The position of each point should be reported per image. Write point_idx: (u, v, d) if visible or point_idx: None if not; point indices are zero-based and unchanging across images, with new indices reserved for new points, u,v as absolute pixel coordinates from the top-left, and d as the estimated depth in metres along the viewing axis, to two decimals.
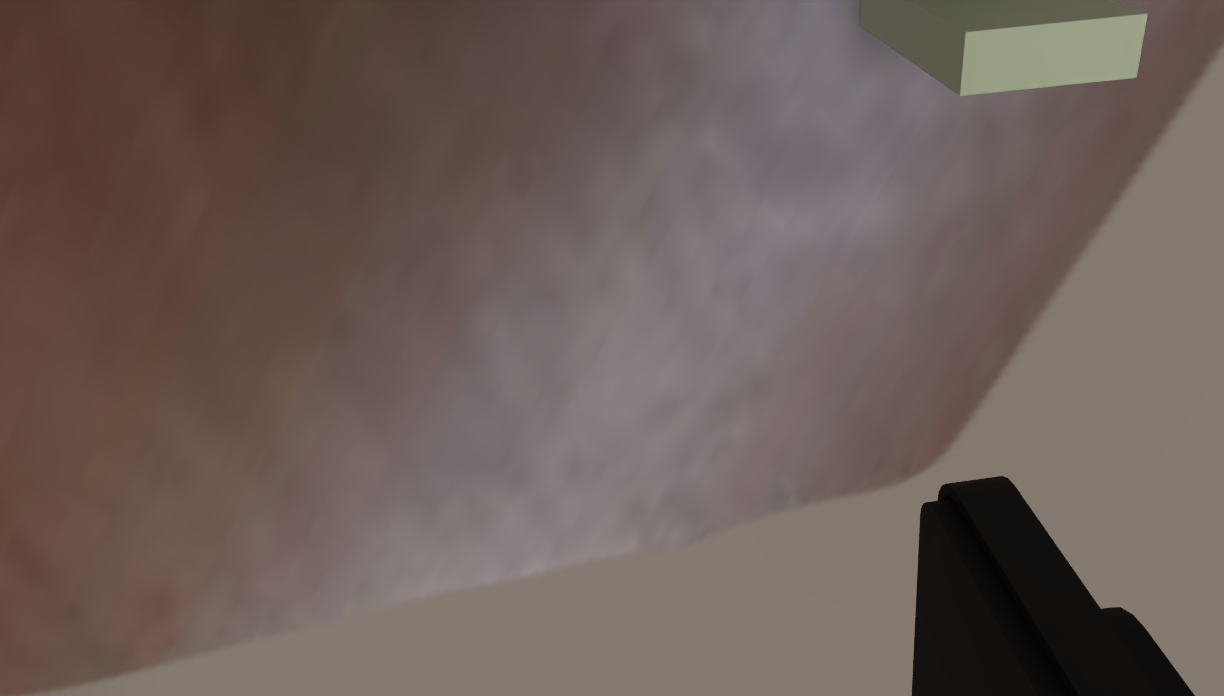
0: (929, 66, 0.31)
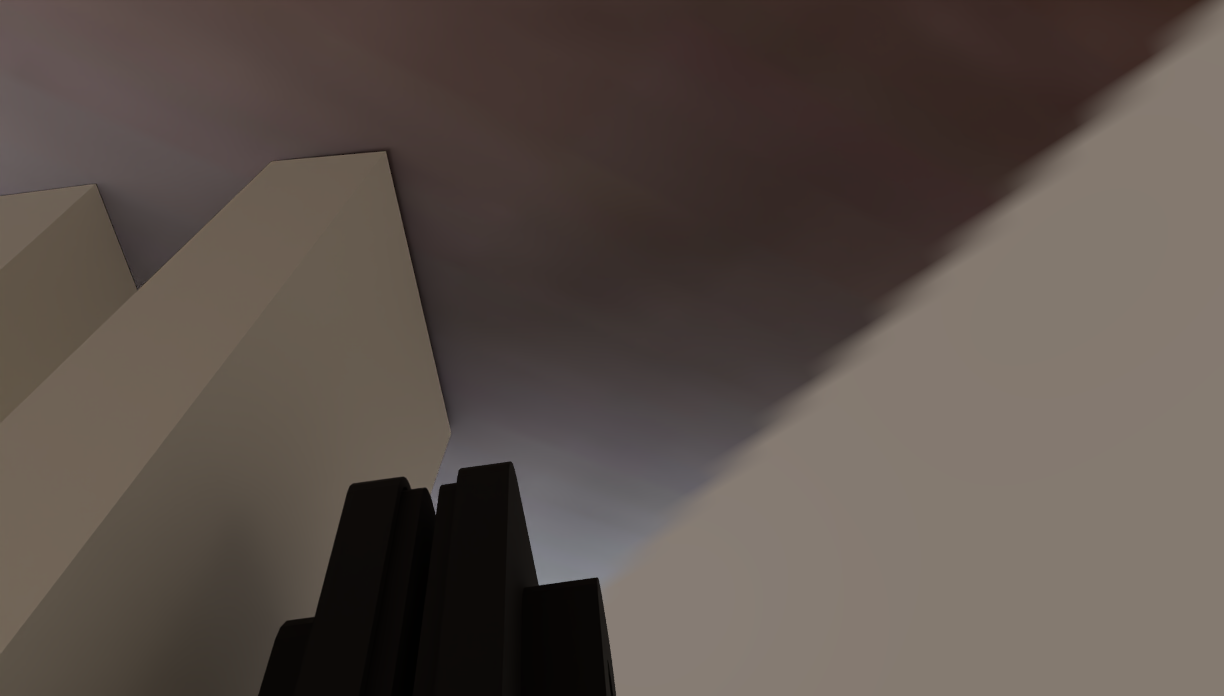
0: None
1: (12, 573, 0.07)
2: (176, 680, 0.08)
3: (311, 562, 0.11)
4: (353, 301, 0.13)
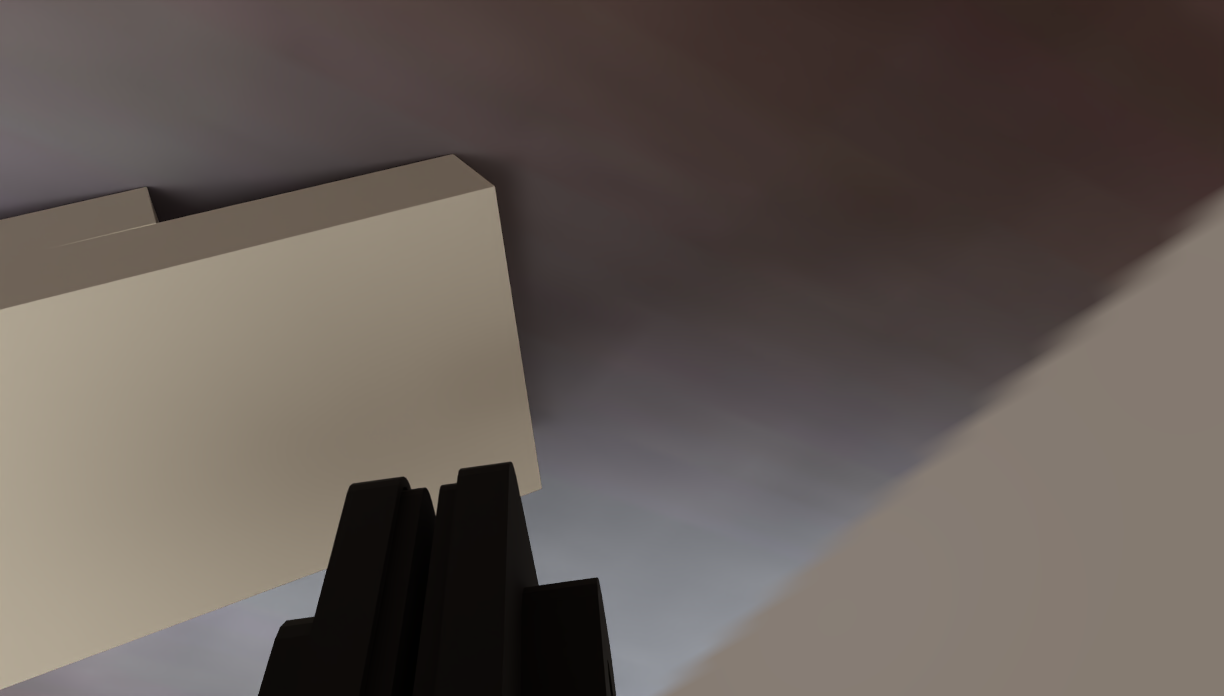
0: None
1: None
2: None
3: (110, 498, 0.13)
4: (319, 315, 0.13)
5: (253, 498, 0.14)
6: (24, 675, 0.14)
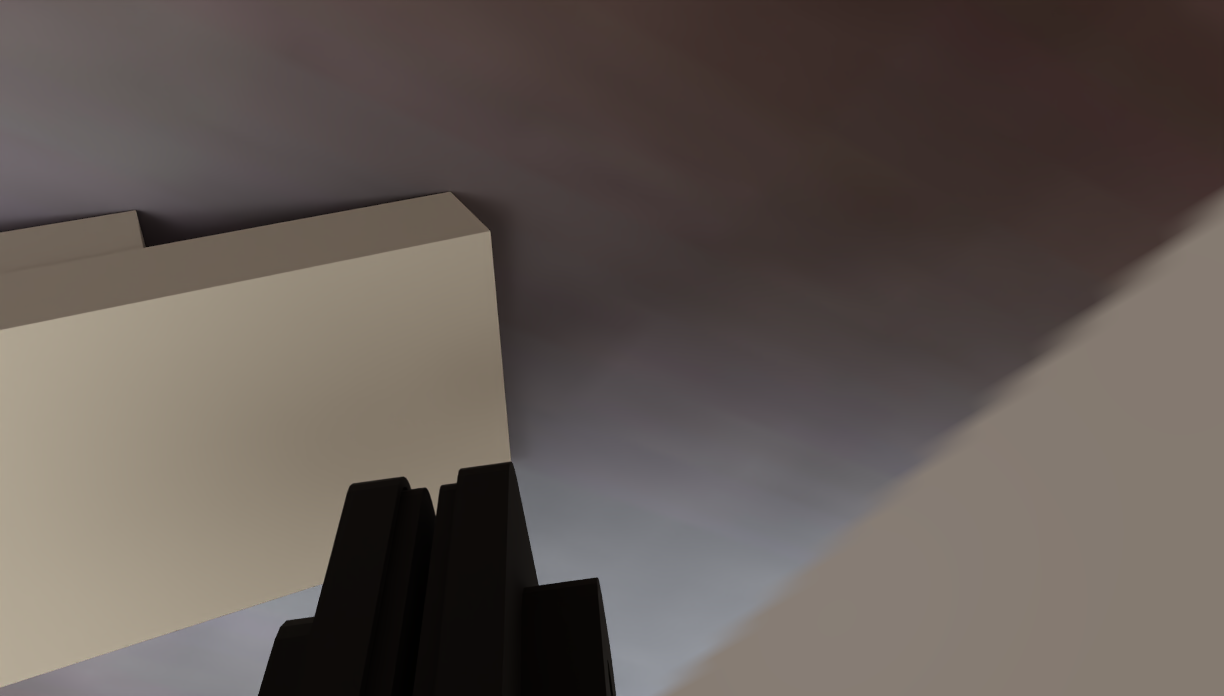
0: None
1: None
2: None
3: (94, 515, 0.13)
4: (310, 347, 0.14)
5: (233, 521, 0.14)
6: None
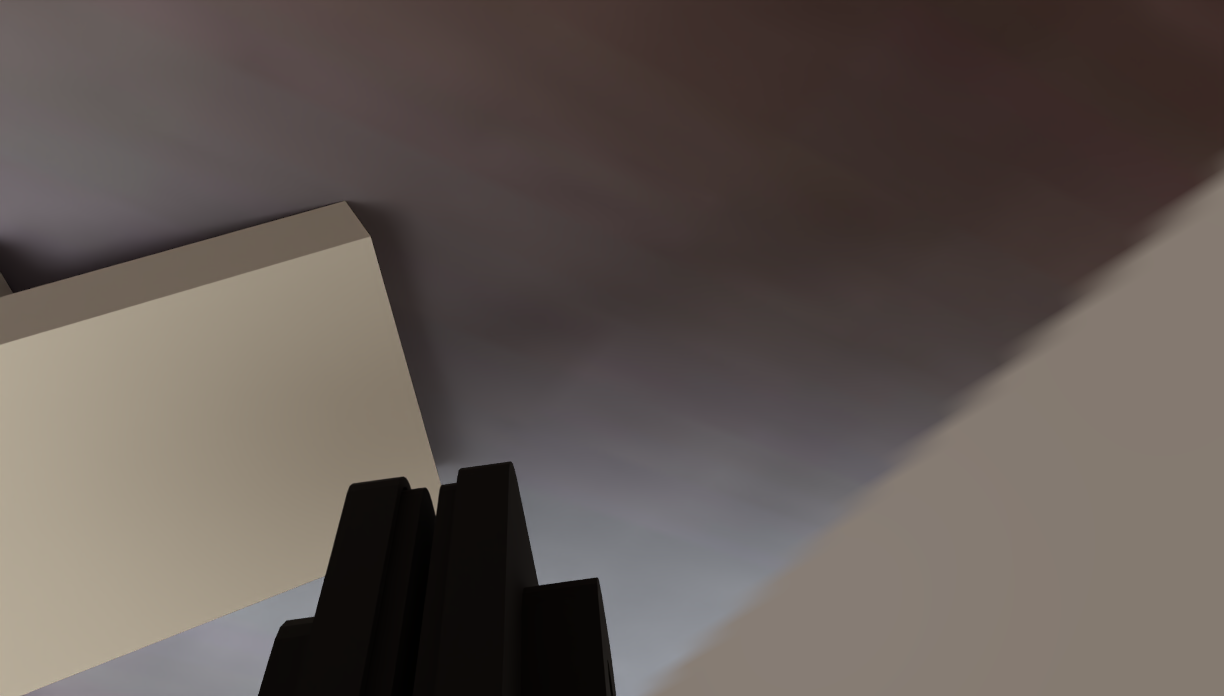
0: None
1: None
2: None
3: (5, 553, 0.13)
4: (200, 369, 0.14)
5: (152, 547, 0.14)
6: None
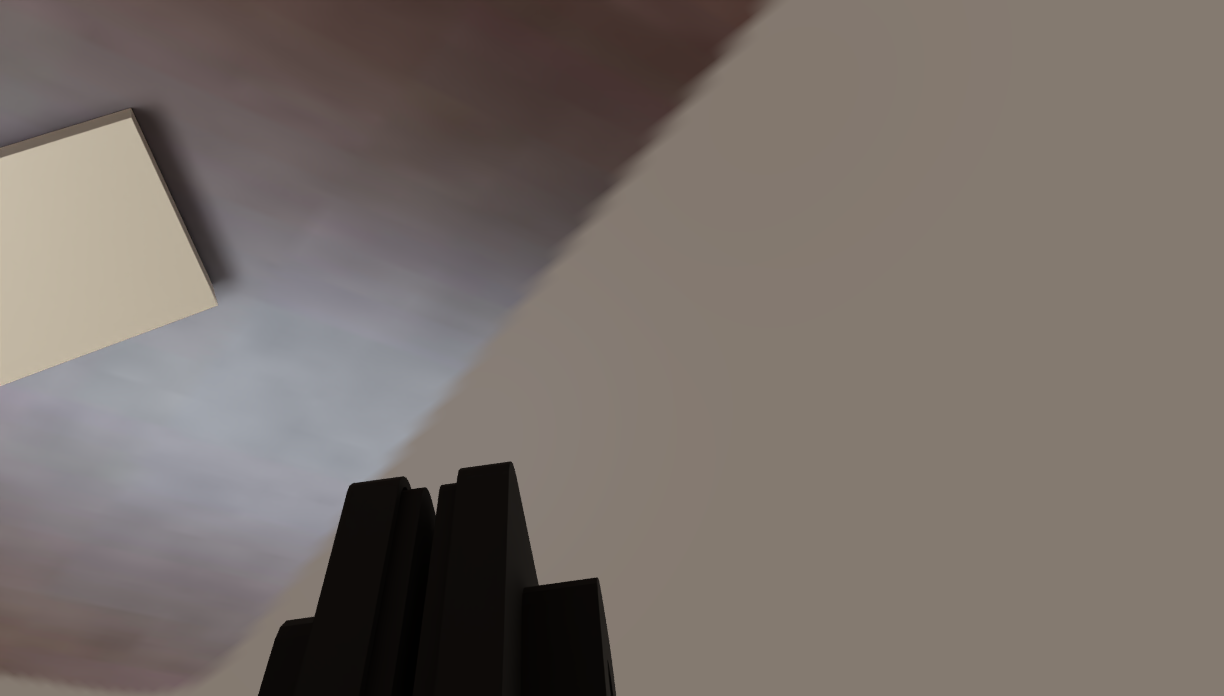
0: None
1: None
2: None
3: None
4: (39, 198, 0.24)
5: (23, 310, 0.25)
6: None
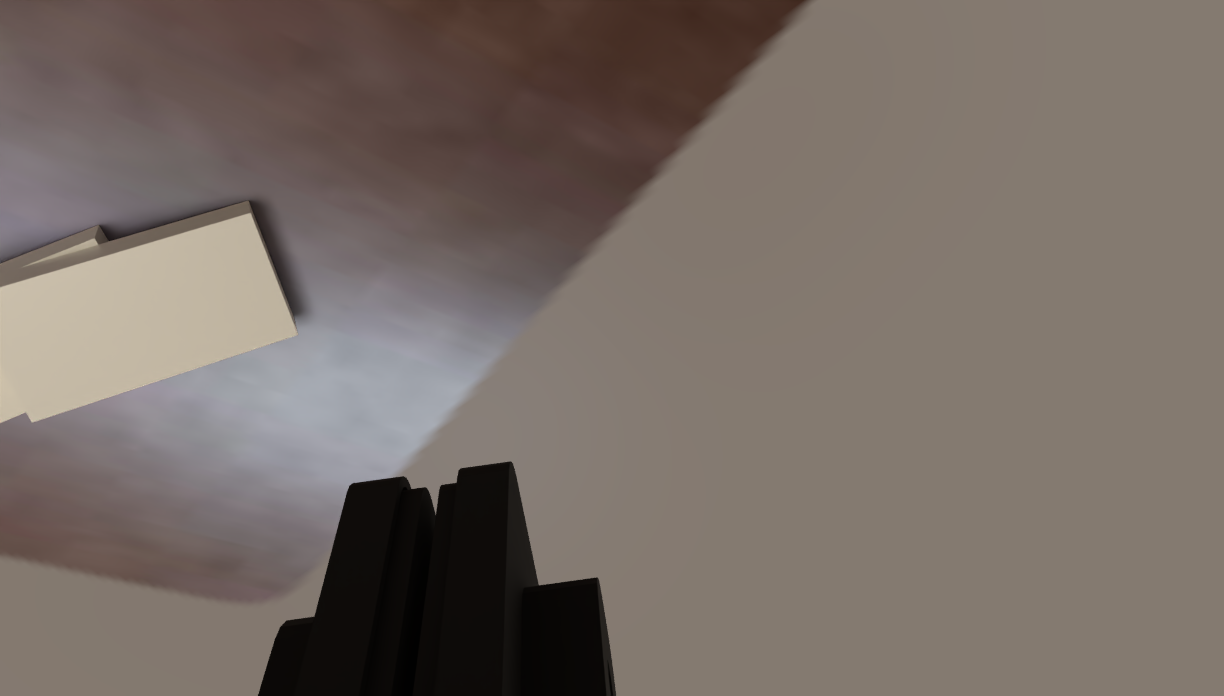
0: None
1: None
2: (30, 329, 0.36)
3: (120, 331, 0.37)
4: (188, 263, 0.37)
5: (173, 333, 0.37)
6: (96, 400, 0.38)
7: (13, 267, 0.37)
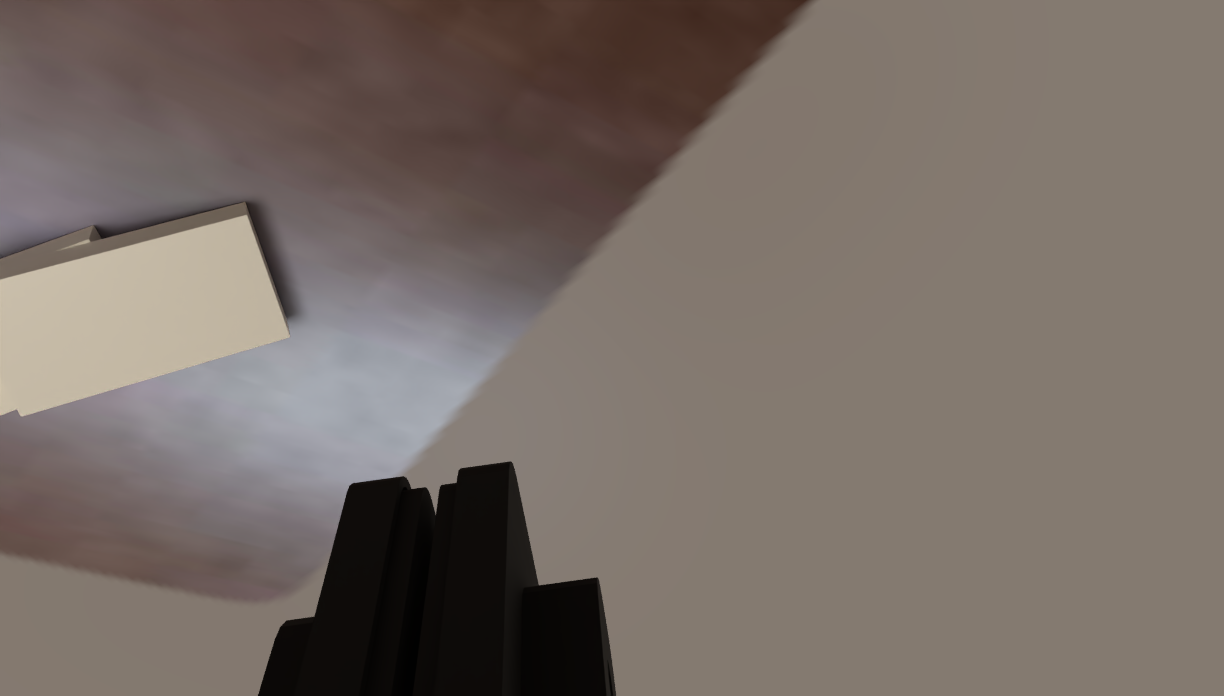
0: None
1: None
2: (22, 323, 0.36)
3: (112, 328, 0.37)
4: (183, 263, 0.37)
5: (165, 332, 0.38)
6: (86, 396, 0.38)
7: None
